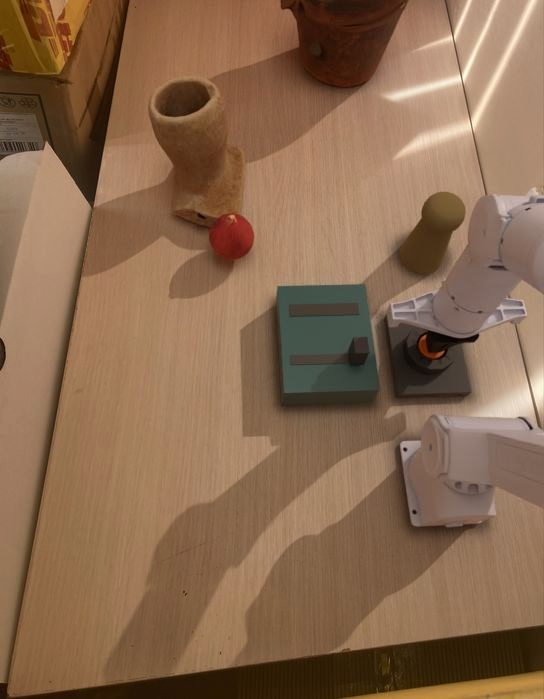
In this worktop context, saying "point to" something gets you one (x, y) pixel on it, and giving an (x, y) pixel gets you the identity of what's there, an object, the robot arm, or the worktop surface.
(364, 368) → the green slider box
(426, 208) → the olive pawn
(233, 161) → the tan hollow curved piece
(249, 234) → the onion
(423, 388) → the block
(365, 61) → the brown plant pot
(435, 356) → the button
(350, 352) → the slider knob
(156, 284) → the worktop surface
